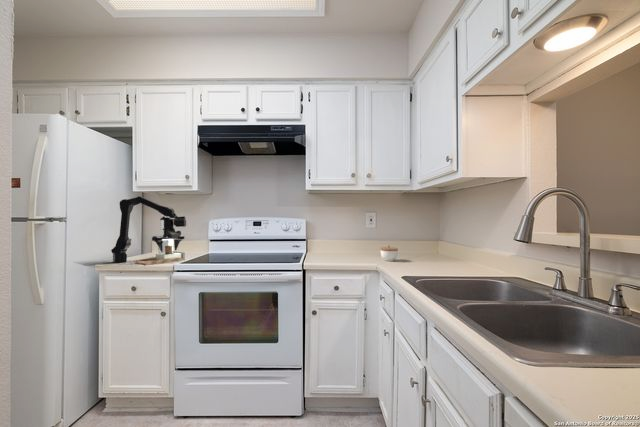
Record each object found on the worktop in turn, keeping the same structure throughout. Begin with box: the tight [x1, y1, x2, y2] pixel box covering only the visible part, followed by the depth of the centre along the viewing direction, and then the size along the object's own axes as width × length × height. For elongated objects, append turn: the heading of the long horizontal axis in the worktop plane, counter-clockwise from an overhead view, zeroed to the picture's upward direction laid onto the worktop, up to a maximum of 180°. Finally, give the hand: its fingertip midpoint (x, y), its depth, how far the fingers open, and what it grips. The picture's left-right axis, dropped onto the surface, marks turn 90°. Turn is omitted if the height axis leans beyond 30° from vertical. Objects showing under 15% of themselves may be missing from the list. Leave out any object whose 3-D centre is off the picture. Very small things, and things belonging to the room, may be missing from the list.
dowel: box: [165, 246, 172, 255], centre depth 198 cm, size 4×4×8 cm
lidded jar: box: [379, 245, 399, 262], centre depth 193 cm, size 11×11×9 cm
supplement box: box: [157, 239, 174, 254], centre depth 214 cm, size 7×7×13 cm
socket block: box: [155, 252, 181, 260], centre depth 198 cm, size 11×11×3 cm
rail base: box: [135, 250, 186, 266], centre depth 194 cm, size 24×14×5 cm, turn 144°
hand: (168, 251), depth 198 cm, fingers open, 9 cm apart
